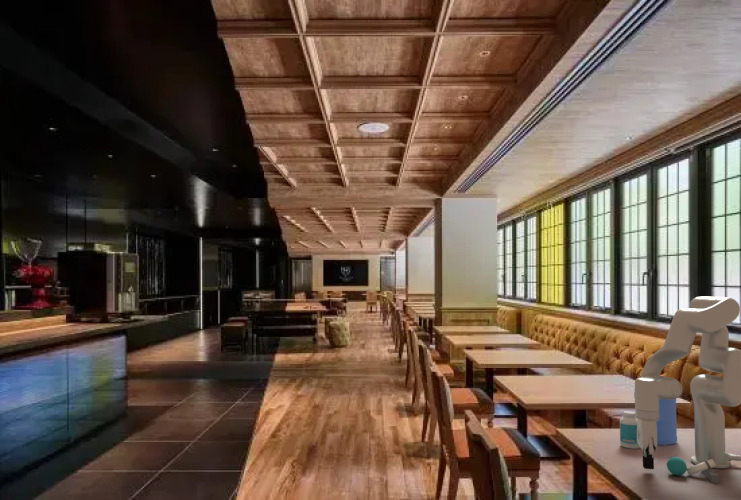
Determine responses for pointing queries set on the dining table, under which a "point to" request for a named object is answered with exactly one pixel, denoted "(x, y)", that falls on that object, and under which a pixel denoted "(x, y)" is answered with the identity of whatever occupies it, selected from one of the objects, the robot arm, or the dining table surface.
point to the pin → (701, 467)
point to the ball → (676, 466)
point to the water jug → (666, 422)
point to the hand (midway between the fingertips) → (648, 468)
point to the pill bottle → (628, 430)
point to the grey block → (711, 475)
